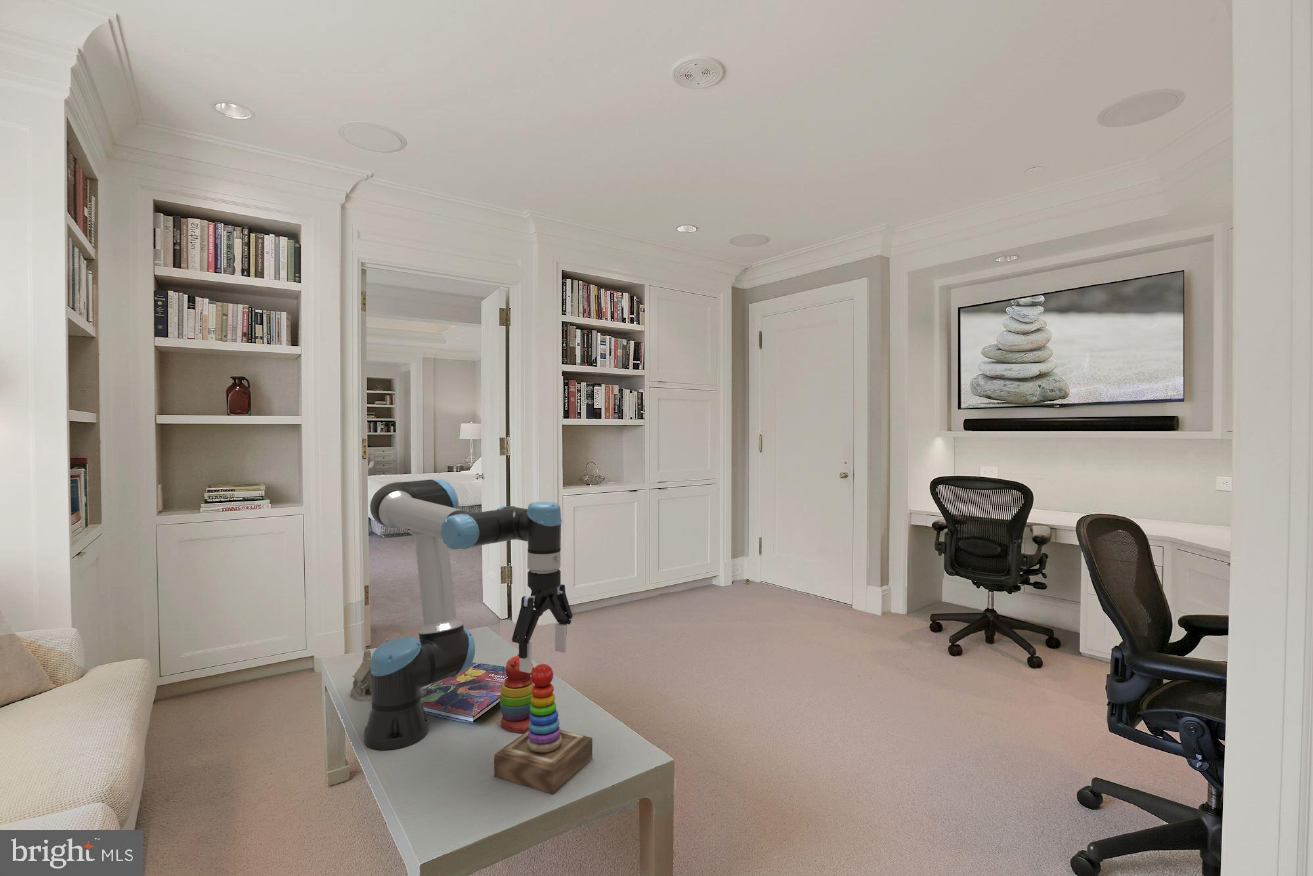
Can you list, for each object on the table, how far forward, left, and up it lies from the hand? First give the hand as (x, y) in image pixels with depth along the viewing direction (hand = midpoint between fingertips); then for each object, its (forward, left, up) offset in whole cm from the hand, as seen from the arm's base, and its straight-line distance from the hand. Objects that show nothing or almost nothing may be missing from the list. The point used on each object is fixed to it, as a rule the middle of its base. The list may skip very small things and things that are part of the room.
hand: (543, 661), depth 144 cm
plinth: (0, 0, -25) cm, 25 cm away
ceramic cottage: (-67, +12, -25) cm, 73 cm away
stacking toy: (0, 0, -20) cm, 20 cm away
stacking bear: (-19, +15, -25) cm, 35 cm away
